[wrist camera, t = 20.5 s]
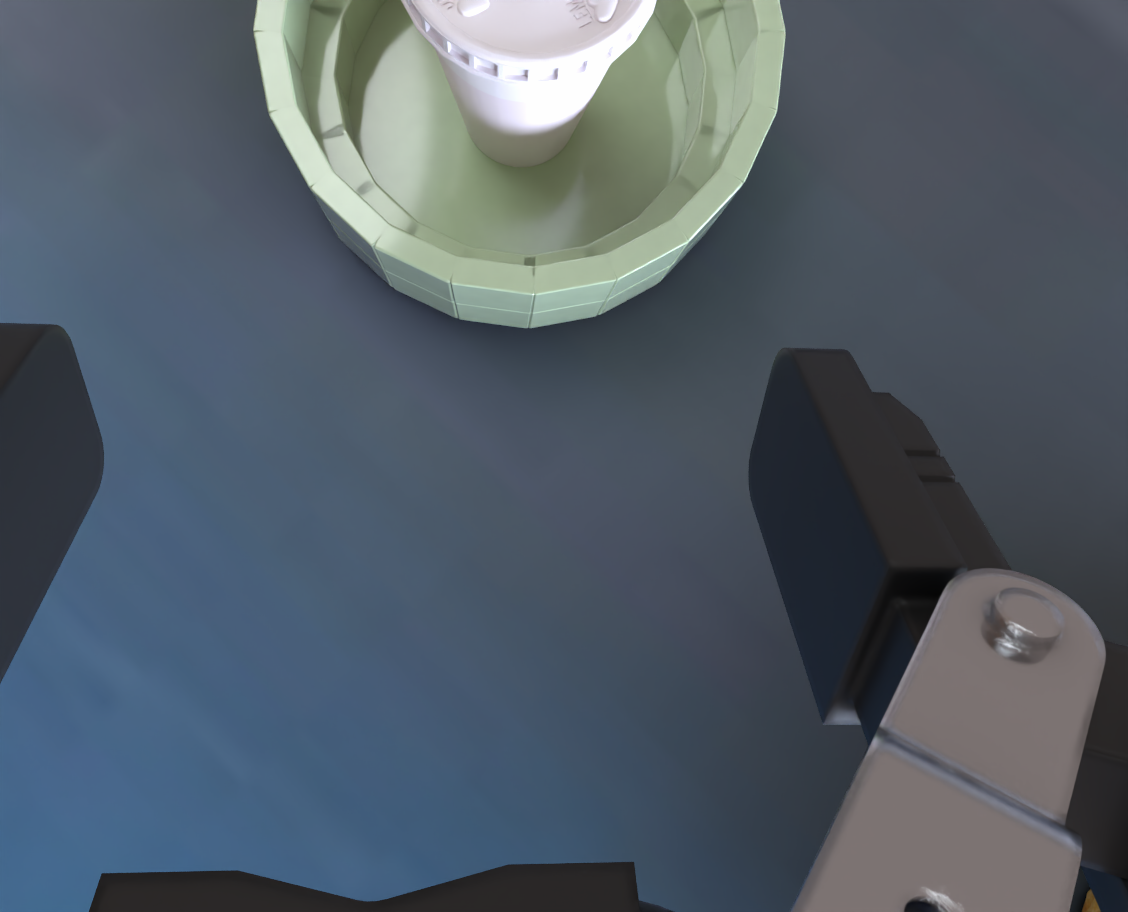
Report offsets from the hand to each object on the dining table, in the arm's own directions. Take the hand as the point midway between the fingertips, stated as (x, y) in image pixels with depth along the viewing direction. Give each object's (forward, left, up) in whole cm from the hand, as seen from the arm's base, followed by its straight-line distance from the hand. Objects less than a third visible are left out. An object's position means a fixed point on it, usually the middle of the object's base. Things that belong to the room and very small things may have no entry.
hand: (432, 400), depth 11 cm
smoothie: (-9, +7, -19) cm, 22 cm away
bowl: (-10, +7, -19) cm, 23 cm away
